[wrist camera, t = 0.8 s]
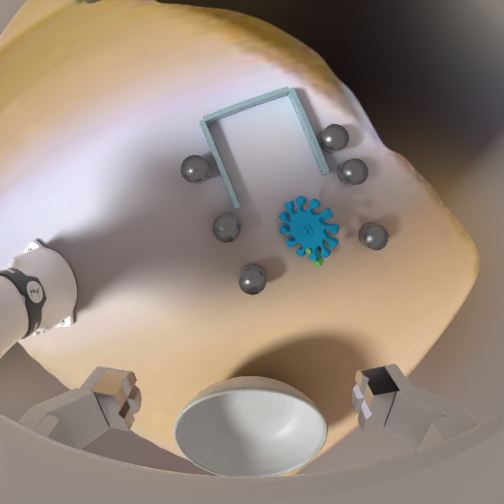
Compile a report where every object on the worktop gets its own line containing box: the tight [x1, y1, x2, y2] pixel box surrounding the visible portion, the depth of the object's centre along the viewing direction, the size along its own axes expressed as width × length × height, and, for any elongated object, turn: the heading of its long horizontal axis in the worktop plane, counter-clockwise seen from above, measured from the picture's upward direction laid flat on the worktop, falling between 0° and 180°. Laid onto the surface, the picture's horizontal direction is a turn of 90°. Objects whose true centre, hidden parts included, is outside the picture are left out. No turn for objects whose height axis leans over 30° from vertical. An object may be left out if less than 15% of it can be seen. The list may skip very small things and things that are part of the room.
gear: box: [279, 196, 339, 267], centre depth 43 cm, size 11×6×10 cm
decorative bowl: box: [174, 376, 328, 477], centre depth 46 cm, size 27×27×12 cm
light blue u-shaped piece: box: [199, 87, 330, 209], centre depth 41 cm, size 16×15×2 cm
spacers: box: [181, 124, 388, 295], centre depth 43 cm, size 26×24×4 cm
